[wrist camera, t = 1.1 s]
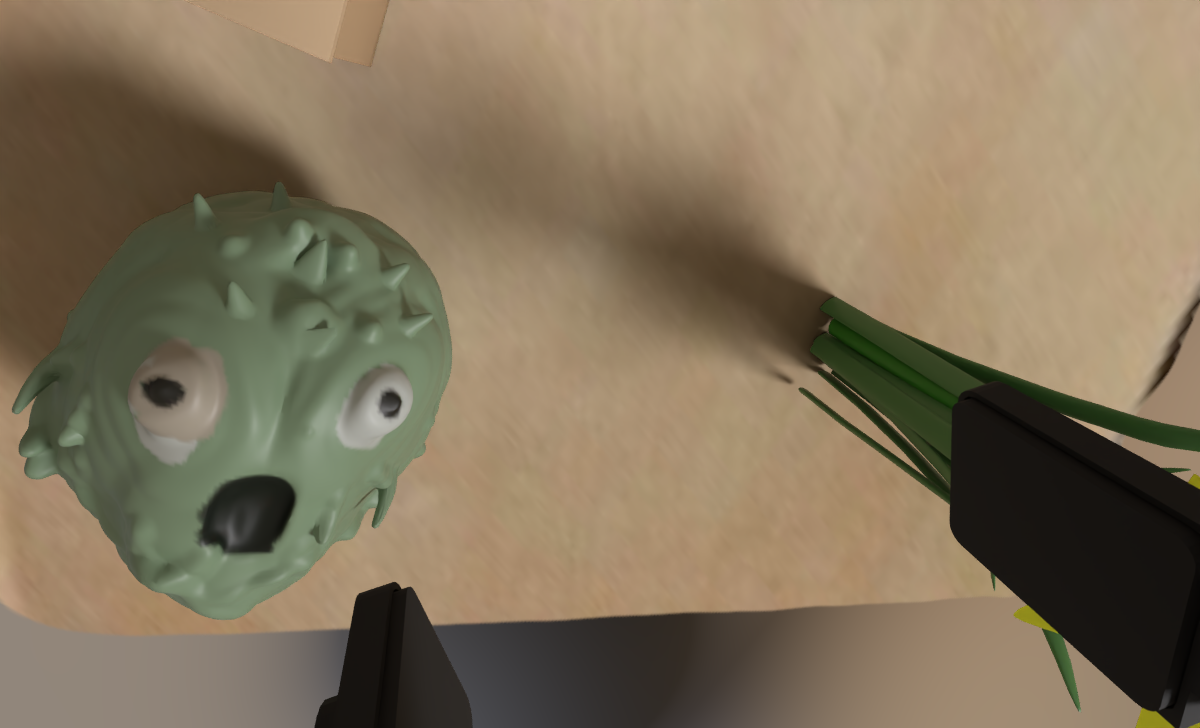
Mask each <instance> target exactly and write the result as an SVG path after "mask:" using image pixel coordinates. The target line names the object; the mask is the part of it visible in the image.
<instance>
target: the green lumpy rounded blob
mask: <svg viewBox="0 0 1200 728" xmlns="http://www.w3.org/2000/svg"><path fill="white" fill-rule="evenodd" d="M451 366H452V344H451V336H450V330H449V324H448V319H447V315H446V311H445V307H444V303H443V299H442V295H441V291H440V288H439V285H438V283H437V280H436V278H435V277H434V275H433V273H432V271H431V270H430V268H429V267H428V266H427V264H426V263H425V262H424V261H423V260H422V259H421V258H420V256H419V254H418V253H417V251H416V250H415V249H414V248H413V247H412V246H411V245H410V244H409V243H408V242H407V241H406V240H405V239H404V238H403V237H401V236H400V235H399V234H398V233H397V232H395V231H394V230H393V229H391V228H390V227H389V226H387V225H386V224H384V223H383V222H381V221H379V220H378V219H376V218H374V217H372V216H370V215H367V214H365V213H362V212H358V211H355V210H351V209H346V208H341V207H335V206H332V205H330V204H328V203H326V202H323V201H320V200H316V199H311V198H304V197H290V196H288V194H287V191H286V189H285V187H284V185H283V184H282V183H281V182H277V183H276V185H275V187H274V191H273V193H271V192H263V191H241V192H233V193H226V194H220V195H215V196H211V197H207V198H203V197H202V196H201V195H200V194H199V193H197V194H195V195H194V197H193V202H190V203H187V204H185V205H183V206H181V207H179V208H177V209H175V210H174V211H172V212H168V213H165V214H162V215H159V216H157V217H155V218H153V219H151V220H149V221H147V222H145V223H143V224H142V225H140V226H139V227H138V228H136V229H135V230H134V231H133V232H132V233H131V234H130V235H129V236H128V237H127V239H126V240H125V241H124V243H123V244H122V245H121V247H120V248H119V249H118V250H117V251H116V253H115V254H114V255H113V256H112V258H111V259H110V260H109V261H108V262H107V264H106V265H105V266H104V267H103V269H102V270H101V271H100V272H99V274H98V275H97V276H96V278H95V279H94V280H93V282H92V283H91V285H90V286H89V287H88V289H87V290H86V292H85V293H84V295H83V296H82V298H81V299H80V301H79V302H78V304H77V305H76V307H75V309H73V310H71V311H70V312H69V313H68V316H67V324H66V326H65V328H64V331H63V334H62V336H61V339H60V343H59V345H58V346H57V347H56V348H55V349H54V350H53V351H52V352H51V353H50V354H49V355H48V356H47V357H45V358H44V359H43V360H42V361H41V362H40V363H39V364H38V365H37V366H36V367H35V368H34V370H33V371H32V373H31V374H30V375H29V377H28V378H27V380H26V381H25V383H24V385H23V386H22V388H21V390H20V392H19V394H18V396H17V399H16V401H15V403H14V405H13V407H12V412H13V413H15V414H19V413H20V412H21V411H22V410H23V409H24V408H25V407H26V406H27V405H28V404H29V403H30V402H31V401H32V400H33V399H34V398H35V397H36V396H37V395H38V396H37V397H36V399H35V401H34V404H33V406H32V410H31V414H30V419H29V427H28V429H27V431H26V433H25V434H24V436H23V437H22V439H21V441H20V444H19V453H20V455H21V456H23V457H27V460H26V463H25V467H24V472H25V474H26V476H27V477H29V478H31V479H43V478H46V477H48V476H51V475H53V474H59V475H60V476H61V477H62V478H64V479H65V480H66V482H67V484H68V485H69V487H70V488H71V489H72V490H73V491H74V492H75V493H76V495H77V497H78V500H79V502H80V503H81V504H82V506H83V507H84V508H85V509H87V510H88V511H90V513H91V514H92V515H93V516H94V517H95V518H97V519H98V520H99V523H100V525H101V527H102V529H103V531H104V533H105V534H106V535H107V537H108V538H109V539H110V540H111V541H112V542H113V543H114V544H115V545H116V548H117V551H118V554H119V556H120V557H121V559H122V560H123V561H124V563H125V564H126V565H127V567H128V569H129V570H130V572H131V573H132V574H133V575H134V577H135V578H136V579H137V580H138V581H139V582H140V583H141V584H143V585H145V586H146V587H148V588H149V589H151V590H152V591H155V592H158V593H164V594H166V595H167V596H169V597H170V598H172V599H173V600H175V601H176V602H178V603H180V604H181V605H183V606H185V607H187V608H189V609H191V610H193V611H194V612H196V613H198V614H200V615H202V616H205V617H208V618H212V619H217V620H230V619H236V618H239V617H241V616H243V615H245V614H246V613H248V612H249V611H250V610H251V609H252V608H253V607H254V606H255V605H257V604H259V603H261V602H263V601H265V600H267V599H269V598H271V597H272V596H274V595H276V594H278V593H280V592H281V591H283V590H285V589H286V588H288V587H289V586H291V585H292V584H293V583H295V582H297V581H298V580H300V579H301V578H302V577H303V576H305V575H306V574H307V573H308V572H309V570H310V569H311V567H312V566H313V565H314V564H315V562H316V561H318V560H319V559H320V558H321V557H322V556H323V555H324V554H325V553H326V551H327V550H328V549H329V548H330V546H331V545H332V544H334V543H335V542H337V541H342V540H350V539H352V538H353V537H354V536H355V535H356V533H357V532H358V529H359V527H360V524H361V521H362V519H363V517H364V515H365V513H366V512H367V510H368V509H370V508H376V511H375V514H374V518H373V521H372V527H373V528H377V527H378V526H379V525H380V523H381V522H382V520H383V519H384V517H385V515H386V513H387V511H388V509H389V507H390V504H391V502H392V500H393V497H394V494H395V490H396V485H397V477H398V476H399V475H400V474H401V473H402V472H403V471H404V469H405V468H406V467H407V466H408V465H409V463H410V462H411V461H412V460H413V459H414V458H417V457H420V456H421V455H423V454H424V452H425V450H426V446H425V440H426V438H427V436H428V434H429V432H430V429H431V427H432V426H433V424H434V422H435V416H436V414H437V412H438V408H439V403H440V400H441V397H442V394H443V392H444V390H445V388H446V385H447V383H448V380H449V377H450V373H451Z"/></svg>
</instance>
